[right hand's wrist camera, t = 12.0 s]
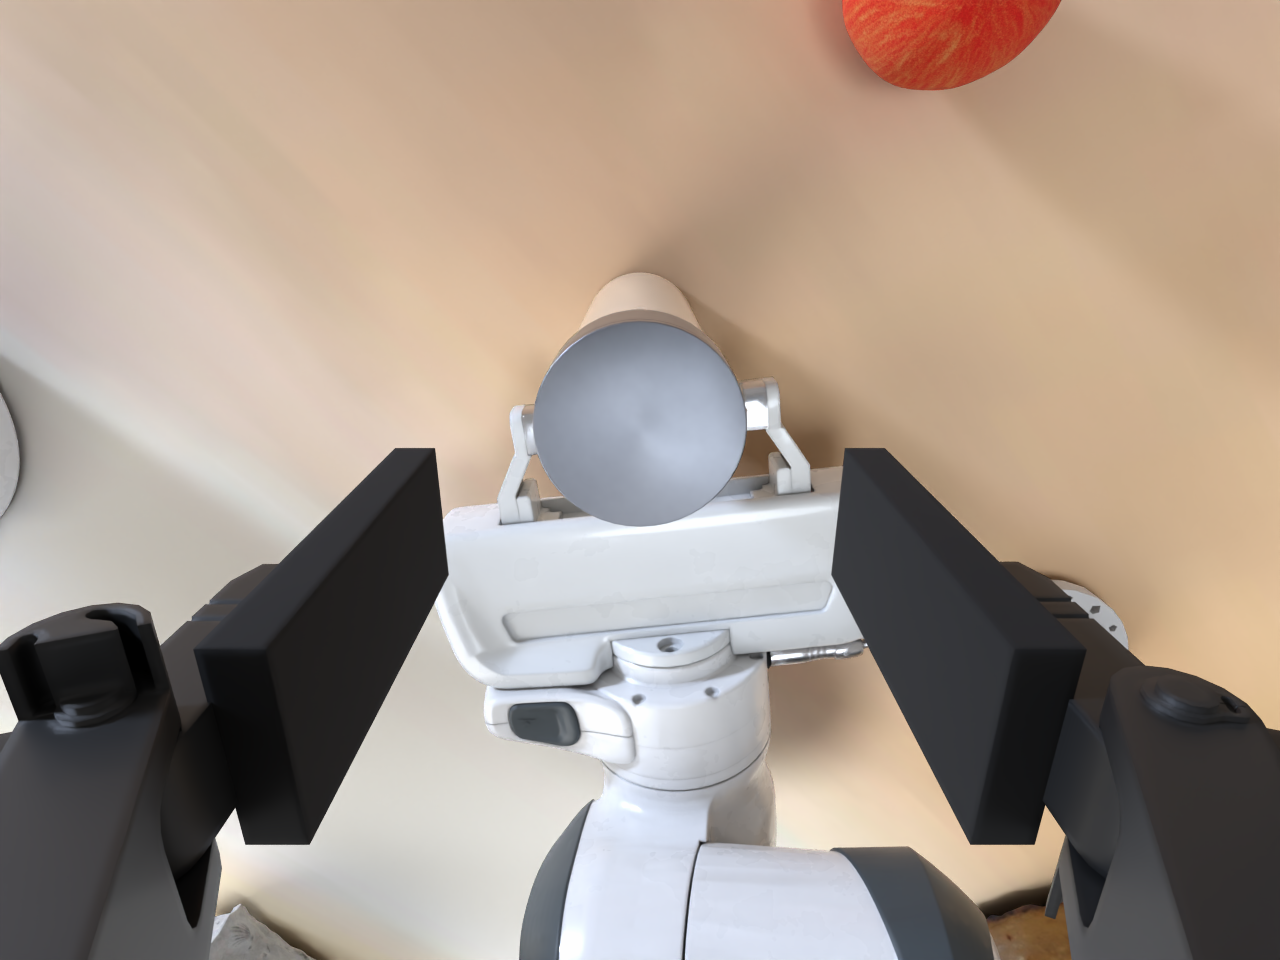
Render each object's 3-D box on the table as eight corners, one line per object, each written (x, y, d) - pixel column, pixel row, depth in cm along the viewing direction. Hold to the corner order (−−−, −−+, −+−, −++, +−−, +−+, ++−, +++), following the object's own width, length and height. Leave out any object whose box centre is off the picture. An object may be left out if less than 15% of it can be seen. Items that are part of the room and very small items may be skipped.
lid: (776, 407, 21) (791, 429, 19) (640, 531, 23) (640, 564, 21) (639, 265, 20) (639, 272, 18) (503, 408, 21) (488, 430, 19)
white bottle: (716, 328, 35) (776, 424, 19) (640, 402, 36) (640, 547, 21) (639, 248, 33) (639, 284, 18) (563, 328, 35) (503, 425, 19)
